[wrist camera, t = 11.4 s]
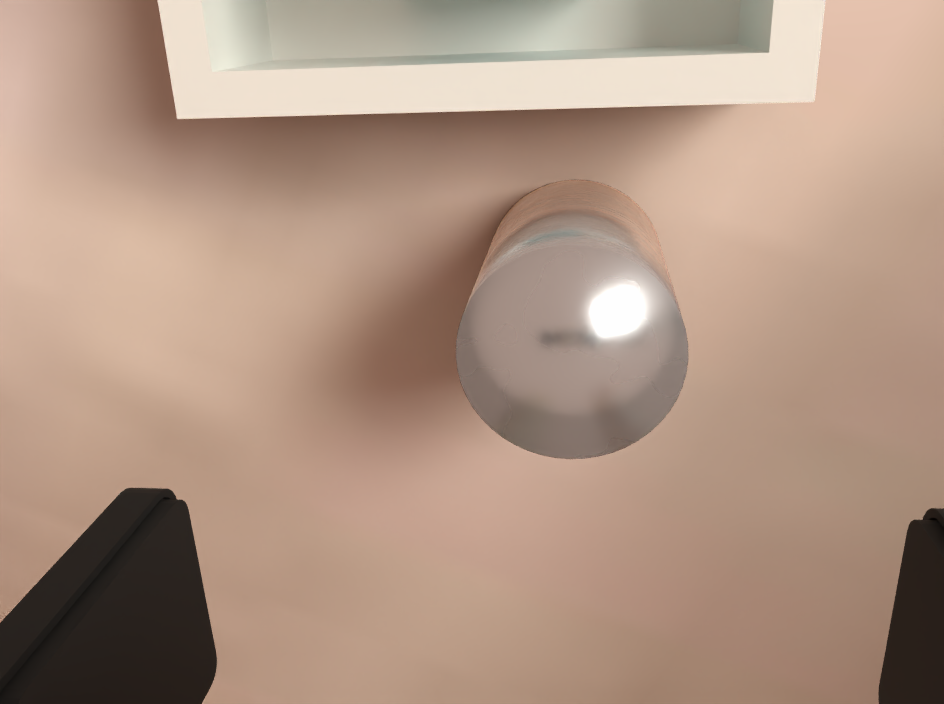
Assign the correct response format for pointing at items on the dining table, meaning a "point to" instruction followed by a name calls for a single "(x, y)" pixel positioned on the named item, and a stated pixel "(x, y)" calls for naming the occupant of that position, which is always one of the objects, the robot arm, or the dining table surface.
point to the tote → (485, 54)
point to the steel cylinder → (573, 325)
